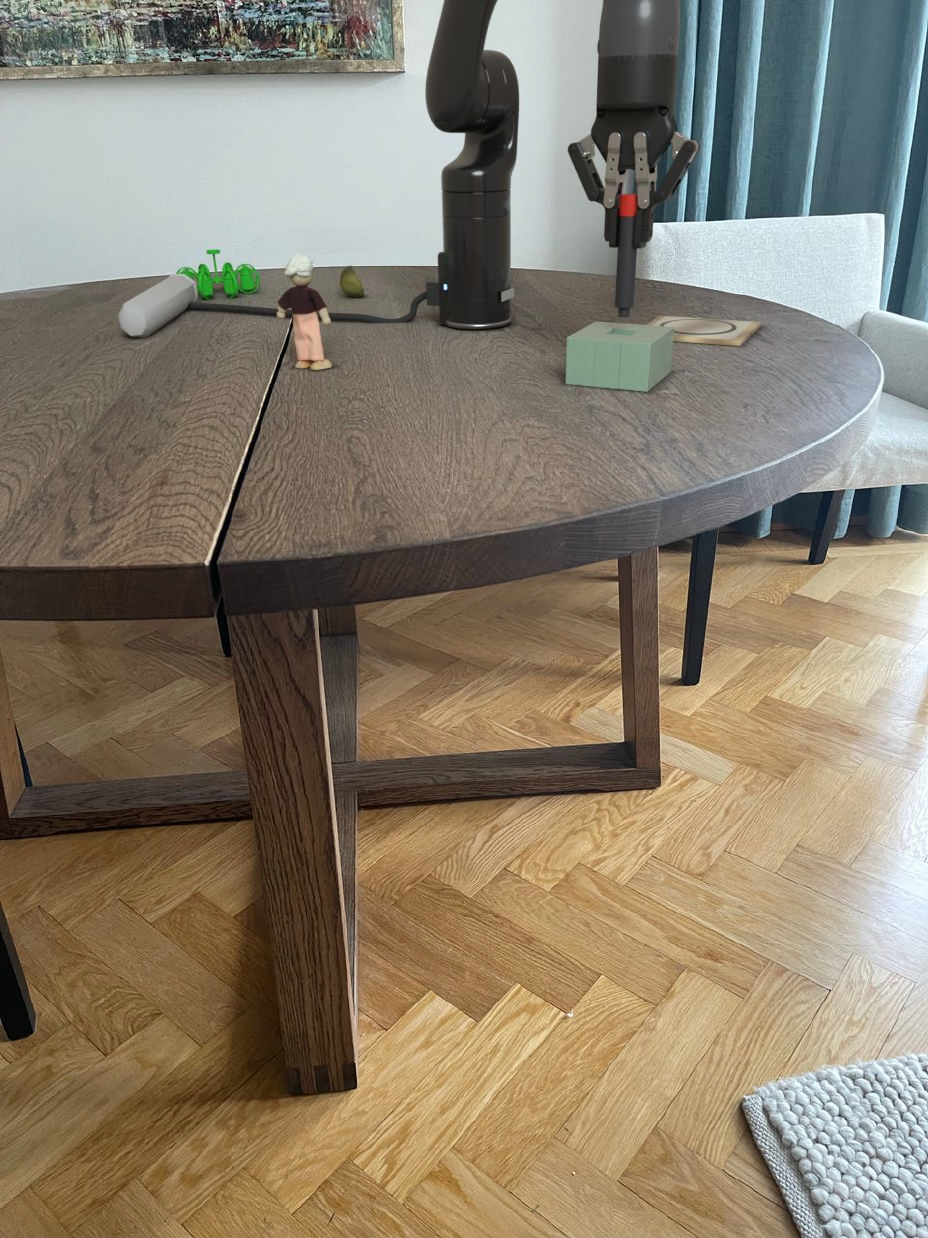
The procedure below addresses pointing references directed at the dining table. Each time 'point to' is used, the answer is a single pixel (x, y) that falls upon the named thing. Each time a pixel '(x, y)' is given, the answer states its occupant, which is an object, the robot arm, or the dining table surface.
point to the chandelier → (223, 277)
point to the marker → (626, 255)
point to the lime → (351, 283)
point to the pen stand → (619, 356)
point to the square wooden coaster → (708, 330)
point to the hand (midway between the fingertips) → (627, 246)
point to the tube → (157, 305)
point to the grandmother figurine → (305, 313)
